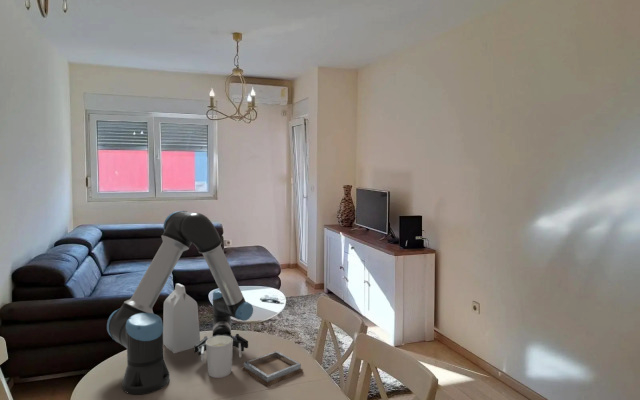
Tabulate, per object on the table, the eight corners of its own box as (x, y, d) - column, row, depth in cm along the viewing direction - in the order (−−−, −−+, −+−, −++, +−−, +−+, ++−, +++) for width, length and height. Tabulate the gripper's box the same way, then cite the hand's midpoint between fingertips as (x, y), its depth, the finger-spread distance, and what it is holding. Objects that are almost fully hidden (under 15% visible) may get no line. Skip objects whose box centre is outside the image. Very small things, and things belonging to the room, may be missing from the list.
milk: (200, 345, 179) (199, 285, 177) (174, 353, 171) (172, 290, 169) (188, 337, 188) (187, 279, 186) (162, 344, 180) (161, 284, 178)
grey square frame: (267, 382, 146) (267, 377, 146) (244, 367, 157) (243, 362, 157) (300, 368, 156) (300, 363, 156) (276, 355, 167) (276, 350, 167)
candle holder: (230, 379, 150) (229, 346, 149) (202, 378, 150) (202, 346, 149) (236, 366, 160) (235, 335, 159) (210, 366, 160) (209, 335, 159)
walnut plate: (267, 386, 145) (267, 383, 145) (242, 370, 157) (242, 367, 157) (302, 371, 156) (302, 368, 156) (277, 357, 168) (276, 354, 167)
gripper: (252, 339, 179) (255, 361, 158) (190, 344, 173) (186, 368, 152) (252, 322, 178) (255, 342, 157) (190, 327, 173) (185, 348, 152)
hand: (221, 355), depth 155 cm, fingers open, 13 cm apart
